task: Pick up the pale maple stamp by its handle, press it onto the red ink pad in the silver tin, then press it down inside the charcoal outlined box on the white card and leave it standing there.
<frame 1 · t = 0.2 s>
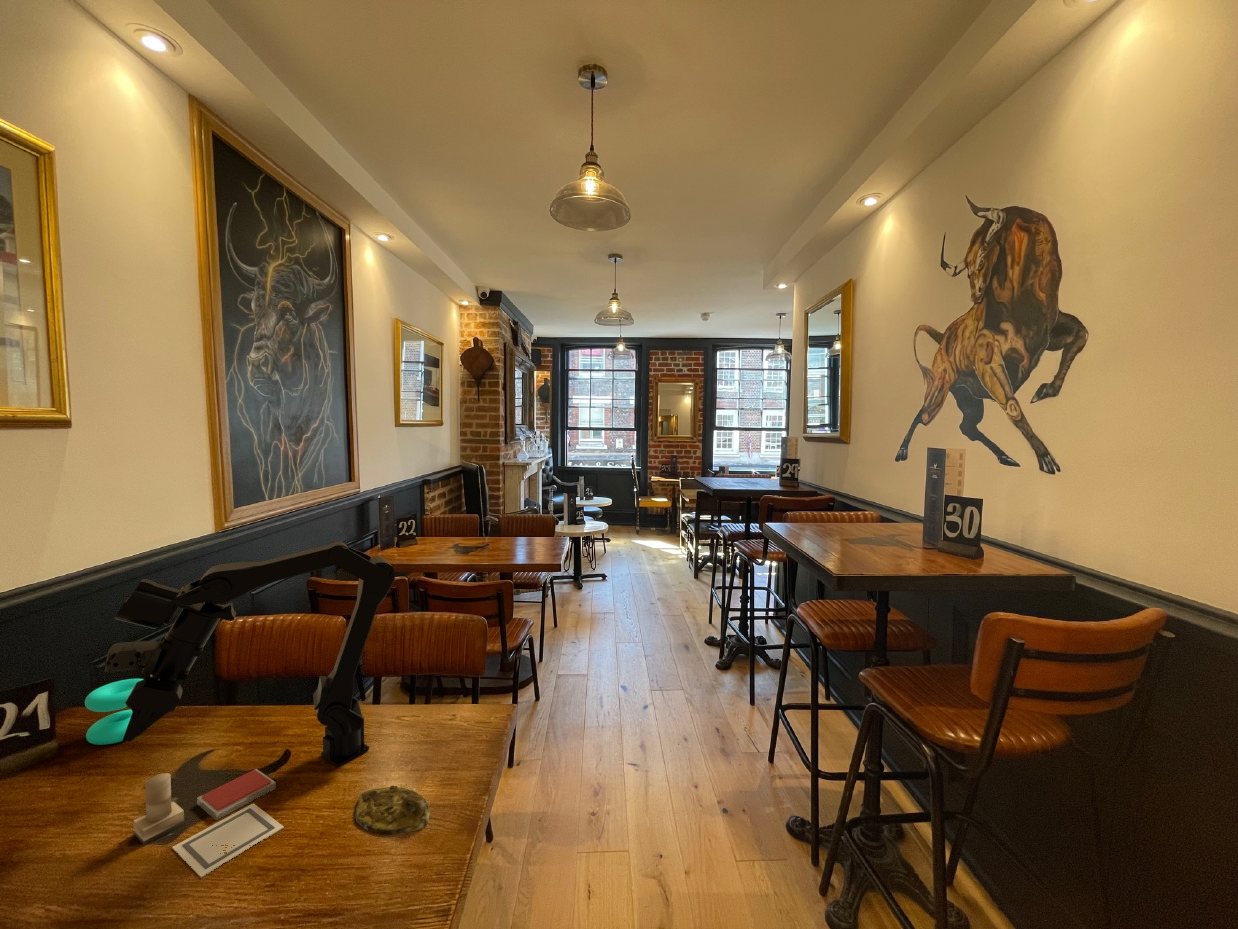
hand: (132, 726, 84), 15 cm above the table, tool tilted 30°, fingers open, 9 cm apart
ink pad: (237, 796, 89), on the table
stamp: (159, 829, 81), on the table
donuts: (120, 734, 107), on the table
card: (229, 838, 80), on the table
olive brown oval relief: (392, 814, 86), on the table
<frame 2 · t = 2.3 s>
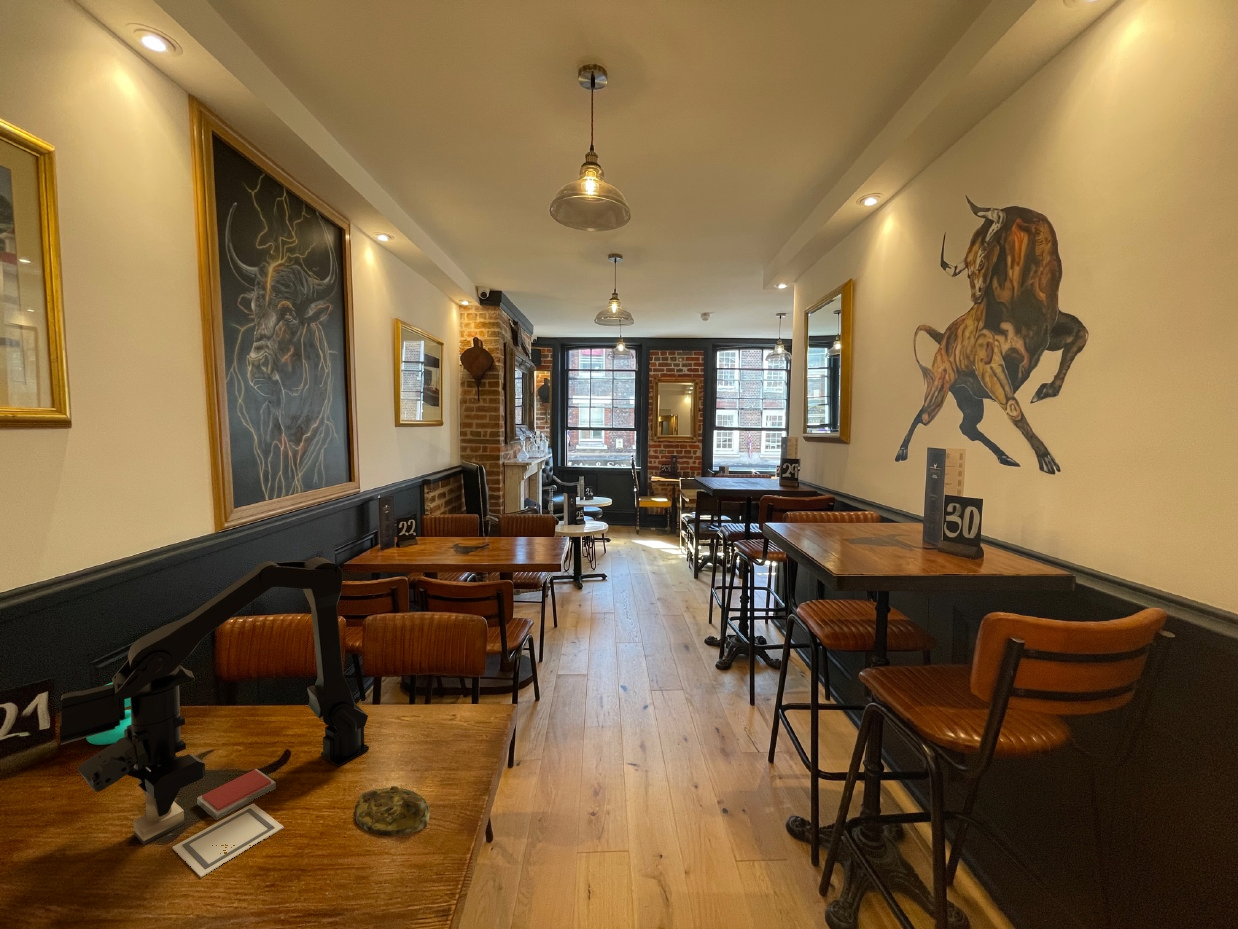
hand: (158, 810, 81), 3 cm above the table, tool pointing down, fingers closed on stamp, 3 cm apart
stamp: (159, 829, 81), on the table, touching gripper
everything else where it was.
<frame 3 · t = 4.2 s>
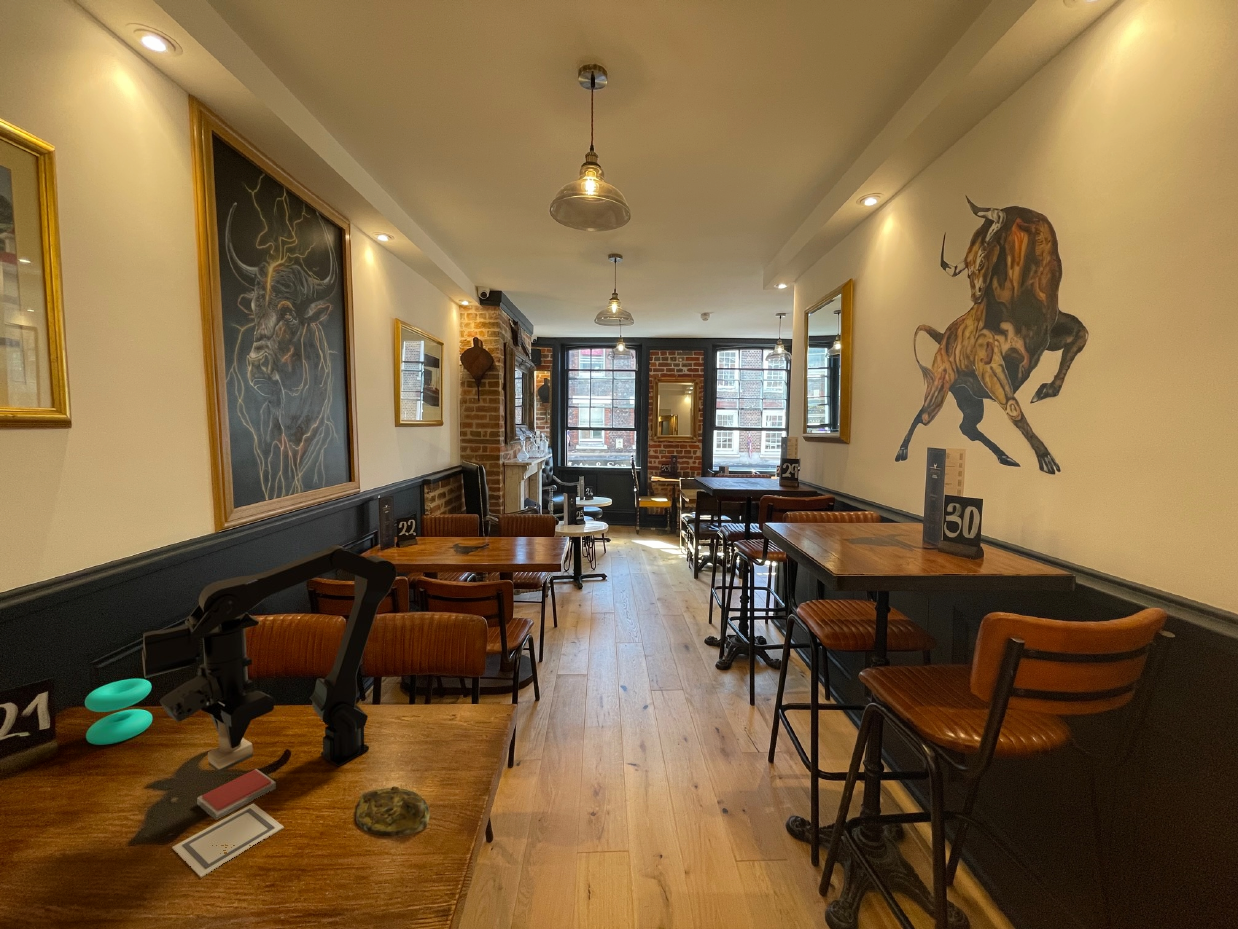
hand: (230, 743, 88), 10 cm above the table, tool pointing down, fingers closed on stamp, 3 cm apart
stamp: (231, 760, 88), point 7 cm above the table, touching gripper
everything else where it was.
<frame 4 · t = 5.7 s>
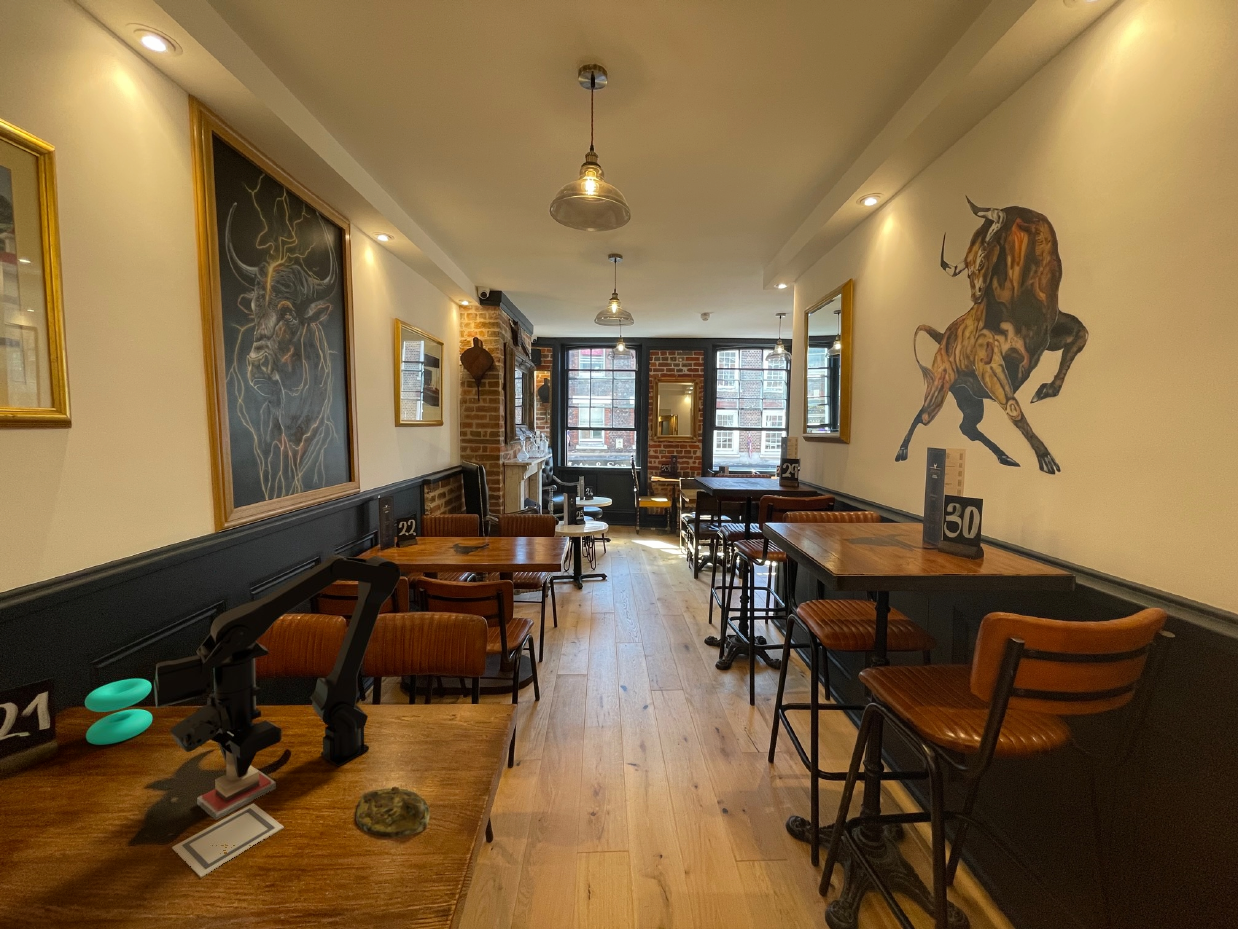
hand: (237, 772, 89), 4 cm above the table, tool pointing down, fingers closed on stamp, 3 cm apart
stamp: (237, 788, 89), point 1 cm above the table, touching gripper, ink pad
everything else where it was.
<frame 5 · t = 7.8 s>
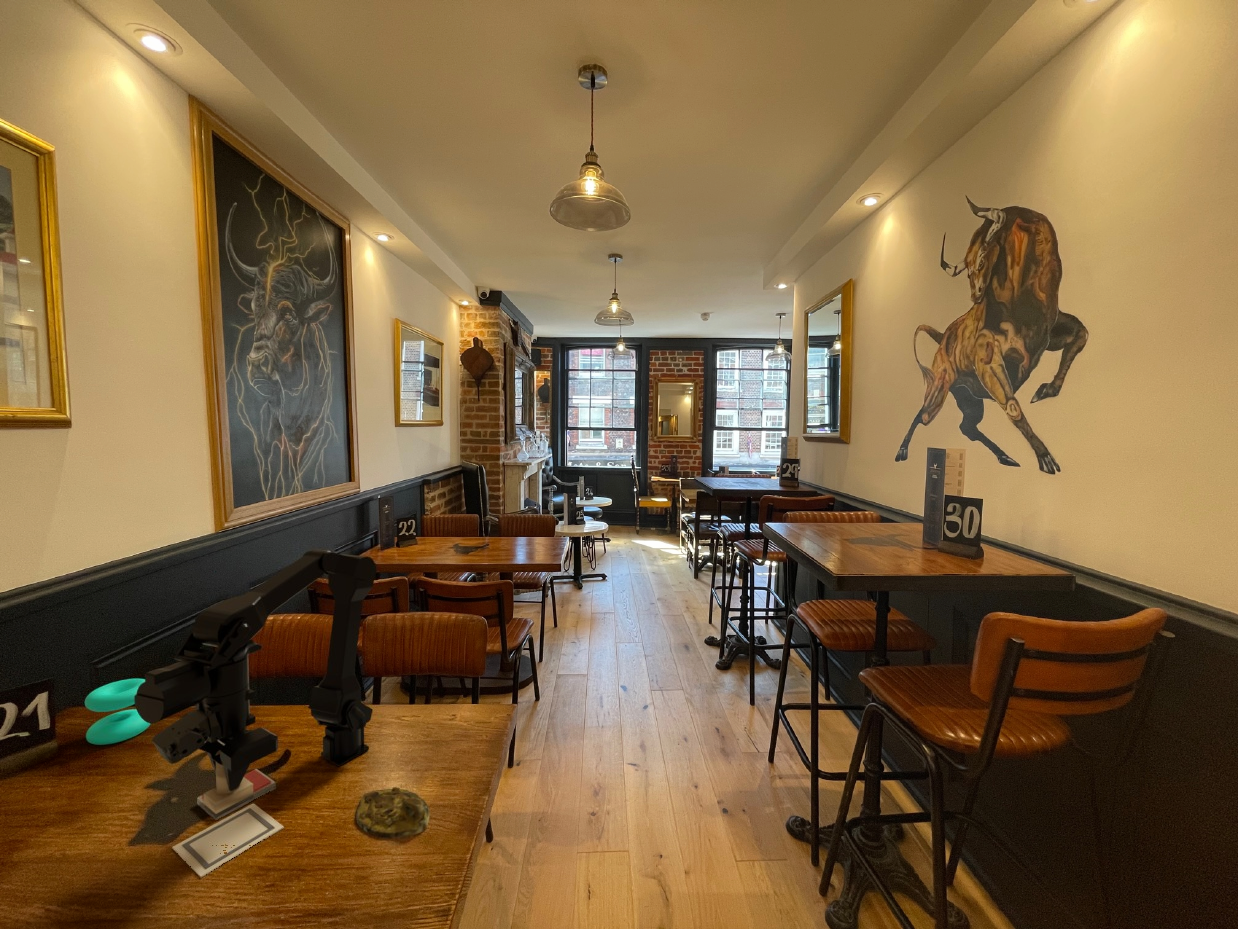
hand: (228, 785, 80), 8 cm above the table, tool pointing down, fingers closed on stamp, 3 cm apart
stamp: (229, 802, 80), point 6 cm above the table, touching gripper
everything else where it was.
when the fingers open (3 cm above the table, at t = 9.1 s): stamp stays where it is, resting on card.
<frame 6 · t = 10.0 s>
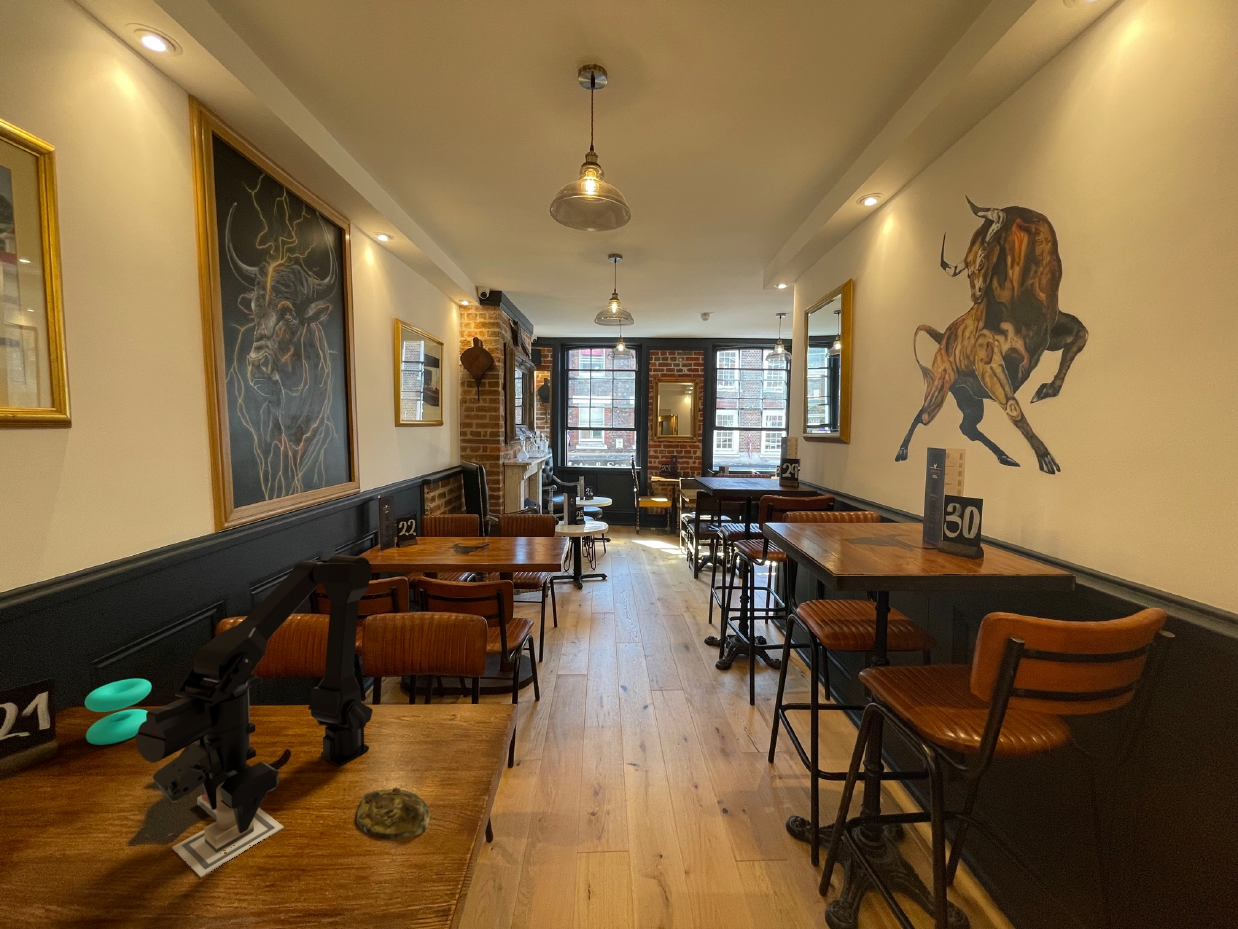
hand: (229, 819, 80), 3 cm above the table, tool pointing down, fingers open, 9 cm apart
stamp: (229, 836, 80), resting on card
everything else where it was.
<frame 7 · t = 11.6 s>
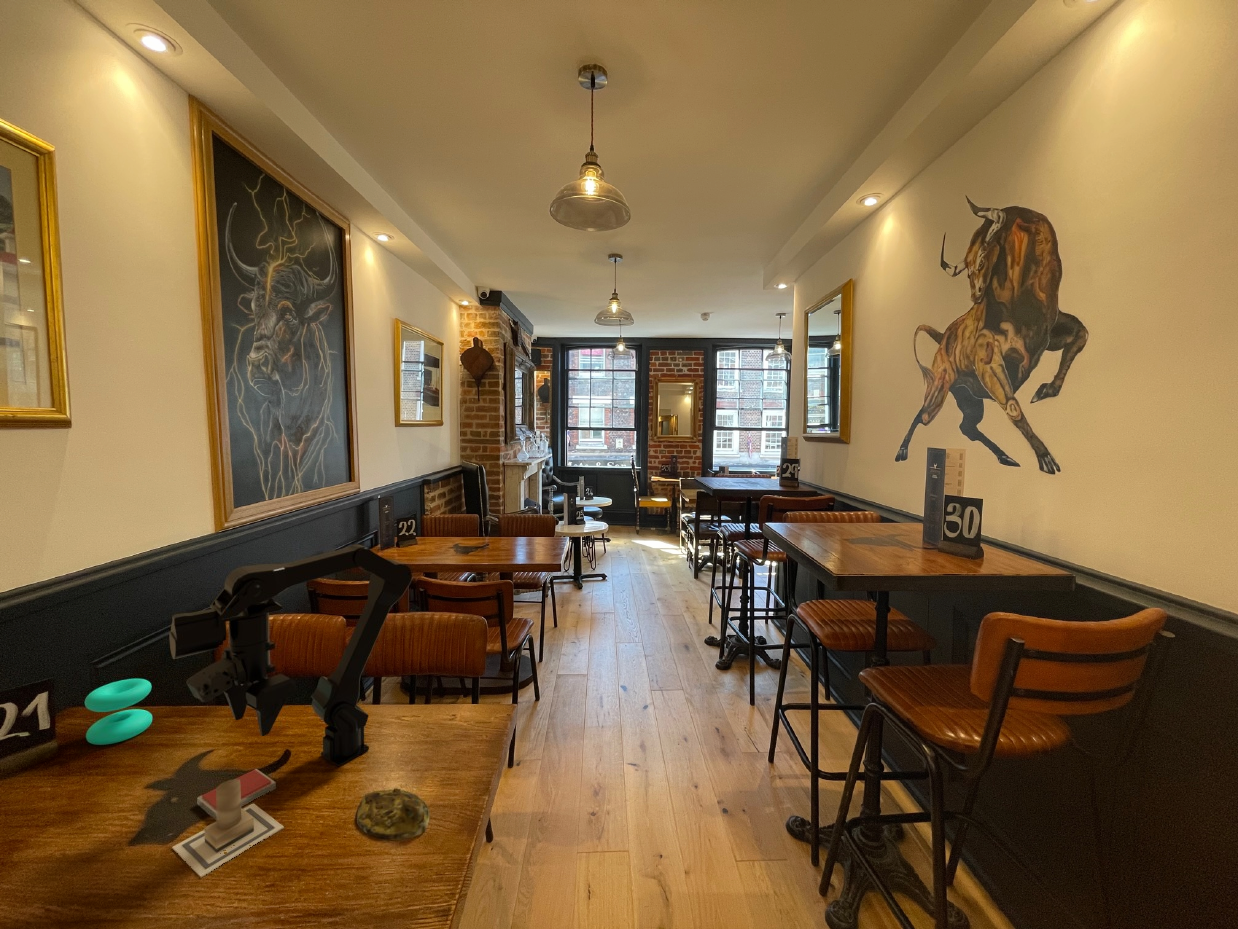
hand: (251, 726, 89), 12 cm above the table, tool pointing down, fingers open, 9 cm apart
nothing on the table moved.
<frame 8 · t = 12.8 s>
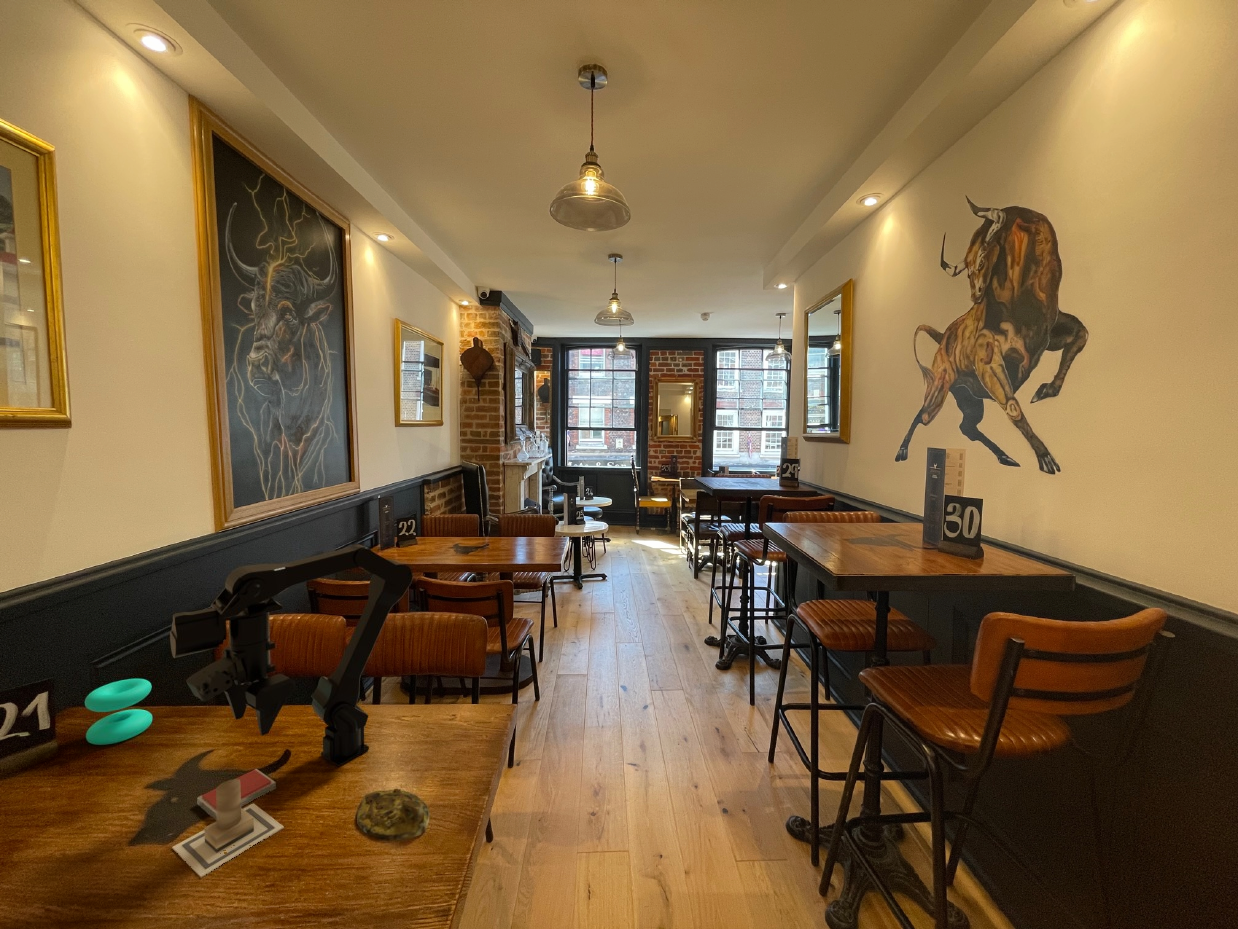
hand: (251, 726, 90), 12 cm above the table, tool pointing down, fingers open, 9 cm apart
at the end: stamp 0.0 cm off-centre on the card, point 0.2 cm above the card's base; stamp tilted 0°; the gripper is holding nothing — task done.
